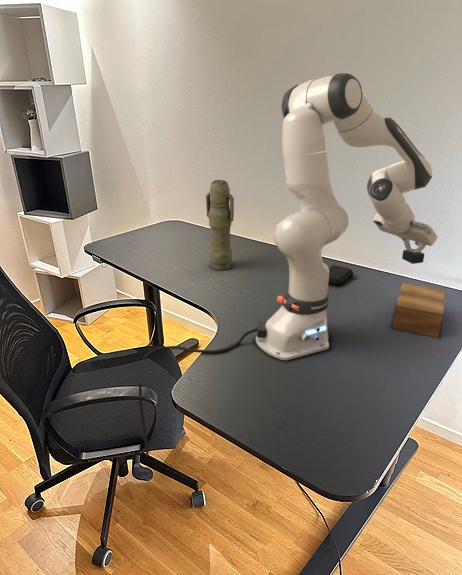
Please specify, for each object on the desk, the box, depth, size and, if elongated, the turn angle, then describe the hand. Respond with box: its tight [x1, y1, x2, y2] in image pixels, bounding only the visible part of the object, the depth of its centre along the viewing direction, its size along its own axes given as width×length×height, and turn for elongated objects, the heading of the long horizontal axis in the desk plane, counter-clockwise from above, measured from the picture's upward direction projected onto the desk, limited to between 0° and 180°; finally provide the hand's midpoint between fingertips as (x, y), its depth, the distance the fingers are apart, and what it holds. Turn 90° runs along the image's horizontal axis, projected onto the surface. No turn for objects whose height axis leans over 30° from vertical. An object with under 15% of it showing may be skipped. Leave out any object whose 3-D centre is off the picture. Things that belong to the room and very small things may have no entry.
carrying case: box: [328, 264, 355, 287], centre depth 169 cm, size 11×3×15 cm
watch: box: [401, 238, 427, 265], centre depth 149 cm, size 6×8×11 cm
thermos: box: [205, 179, 235, 271], centre depth 174 cm, size 9×12×35 cm
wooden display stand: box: [392, 282, 446, 338], centre depth 139 cm, size 18×13×8 cm
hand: (413, 242), depth 148 cm, fingers closed on watch, 4 cm apart
